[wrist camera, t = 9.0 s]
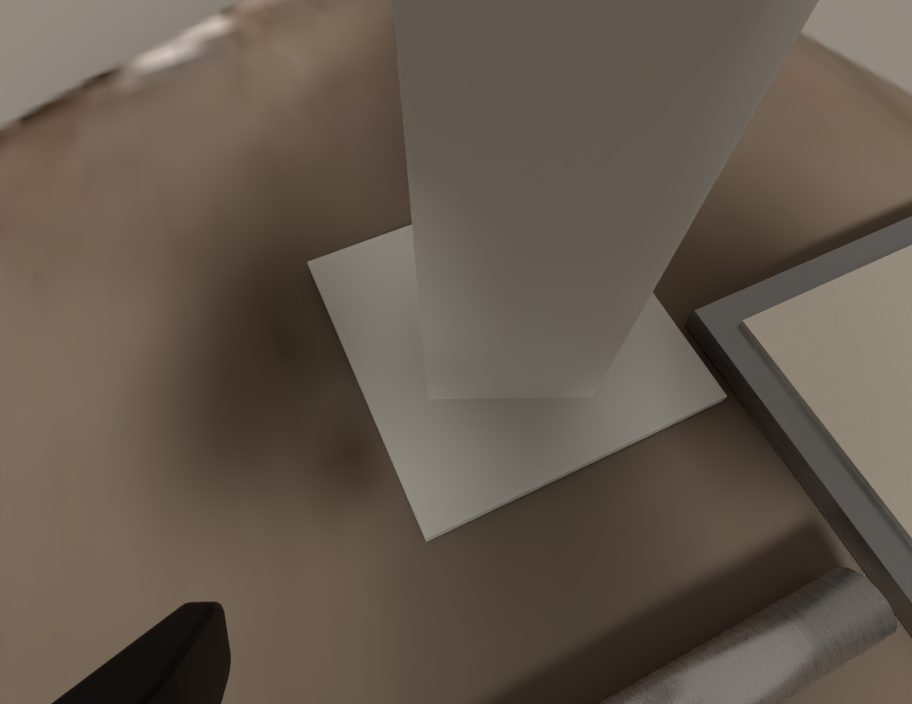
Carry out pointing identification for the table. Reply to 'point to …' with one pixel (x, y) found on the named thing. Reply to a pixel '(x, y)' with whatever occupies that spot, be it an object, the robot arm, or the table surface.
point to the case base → (834, 390)
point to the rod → (775, 647)
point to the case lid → (491, 420)
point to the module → (564, 169)
